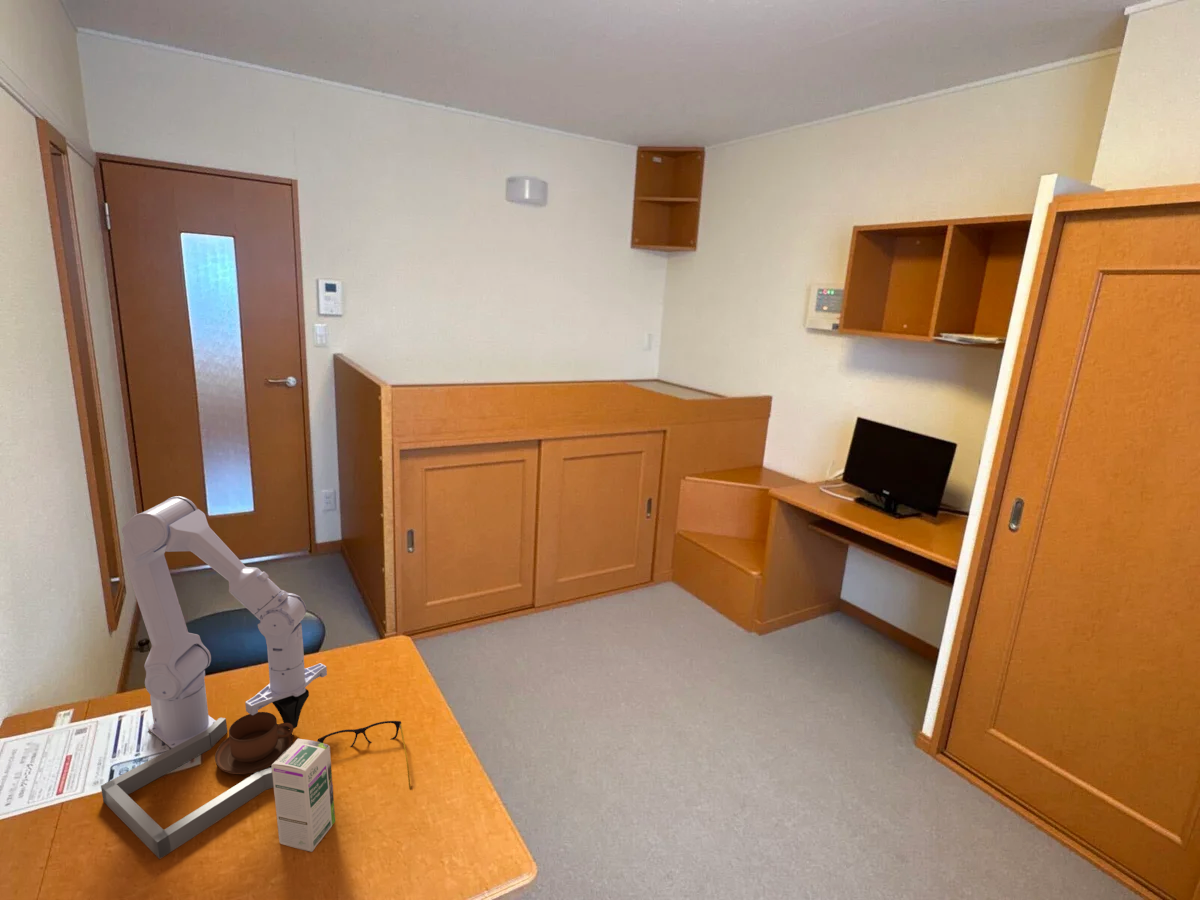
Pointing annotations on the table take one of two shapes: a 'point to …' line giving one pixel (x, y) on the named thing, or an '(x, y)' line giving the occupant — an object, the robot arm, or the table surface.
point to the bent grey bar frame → (195, 821)
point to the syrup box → (303, 794)
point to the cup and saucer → (253, 744)
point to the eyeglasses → (362, 730)
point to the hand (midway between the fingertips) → (290, 726)
